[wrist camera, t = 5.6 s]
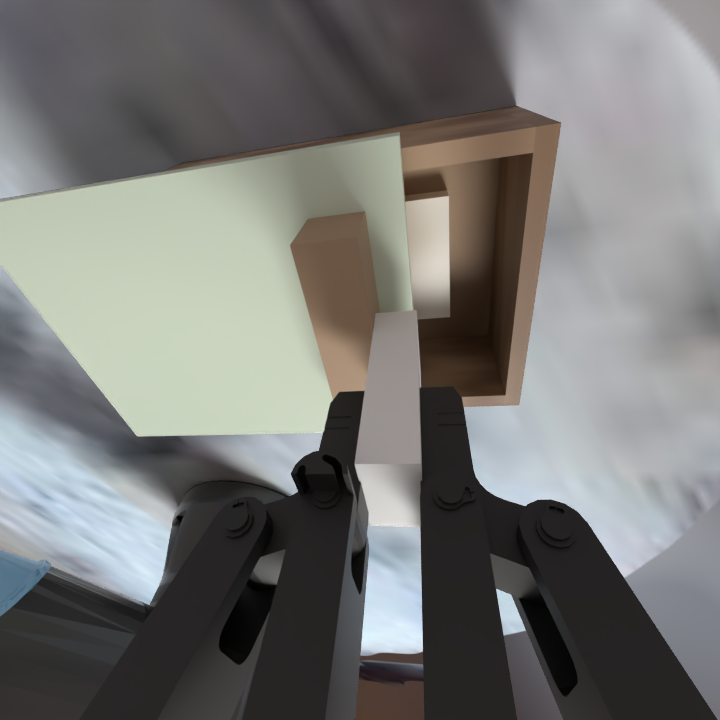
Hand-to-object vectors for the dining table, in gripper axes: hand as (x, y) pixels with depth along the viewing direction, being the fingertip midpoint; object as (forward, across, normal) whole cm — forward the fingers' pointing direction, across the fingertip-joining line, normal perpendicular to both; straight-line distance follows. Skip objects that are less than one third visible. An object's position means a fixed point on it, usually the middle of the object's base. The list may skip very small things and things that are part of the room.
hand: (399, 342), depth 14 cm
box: (+8, -3, 0) cm, 9 cm away
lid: (+2, -8, 0) cm, 8 cm away
